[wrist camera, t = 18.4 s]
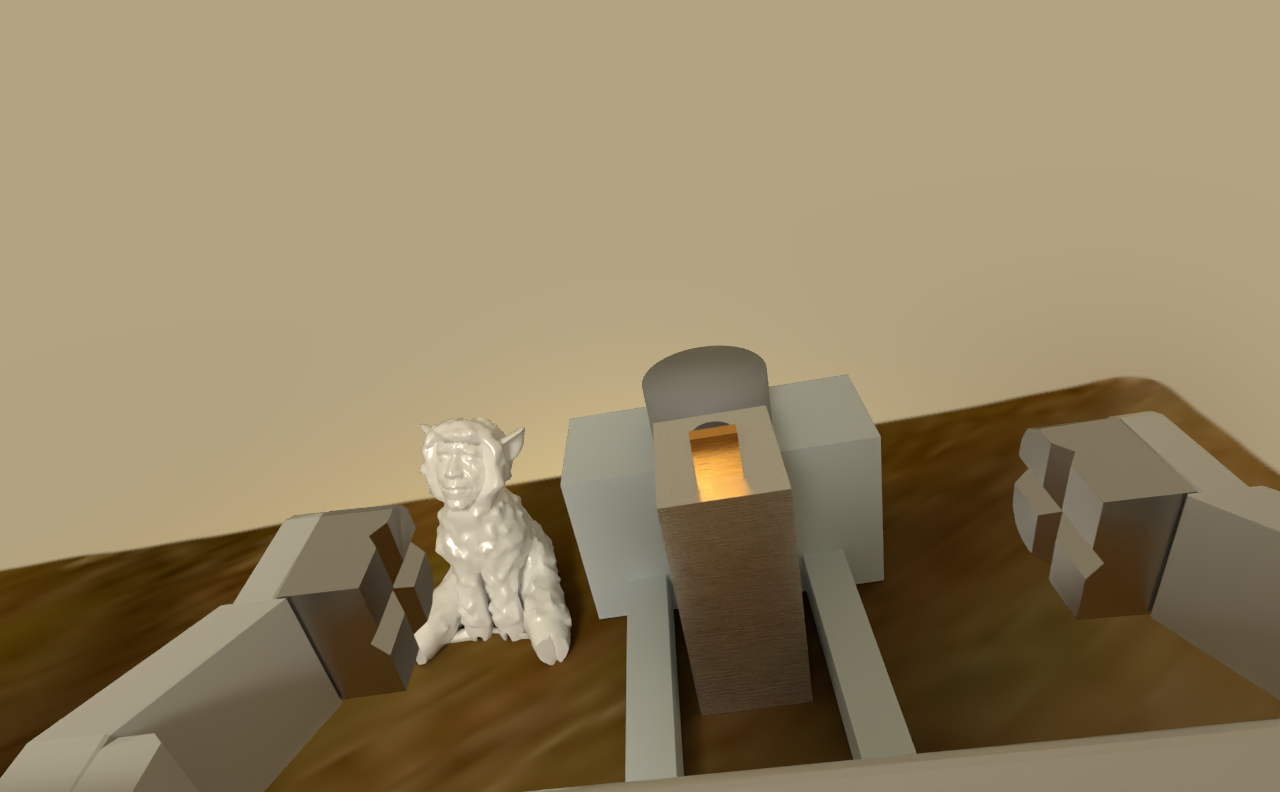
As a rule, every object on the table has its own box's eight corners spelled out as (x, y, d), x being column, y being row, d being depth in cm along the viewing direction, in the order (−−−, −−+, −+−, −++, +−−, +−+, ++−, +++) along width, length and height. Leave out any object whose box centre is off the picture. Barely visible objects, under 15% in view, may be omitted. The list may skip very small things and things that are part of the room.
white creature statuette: (398, 670, 39) (306, 491, 33) (454, 556, 46) (387, 392, 40) (569, 668, 37) (505, 477, 31) (600, 549, 44) (552, 376, 38)
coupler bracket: (574, 1080, 23) (459, 874, 17) (603, 543, 45) (557, 371, 39) (1072, 1039, 22) (1133, 800, 16) (853, 507, 43) (845, 323, 37)
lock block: (701, 715, 33) (648, 469, 26) (692, 615, 38) (645, 388, 32) (812, 702, 33) (787, 448, 26) (788, 602, 38) (761, 369, 31)
